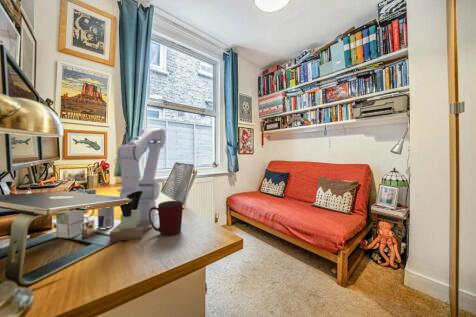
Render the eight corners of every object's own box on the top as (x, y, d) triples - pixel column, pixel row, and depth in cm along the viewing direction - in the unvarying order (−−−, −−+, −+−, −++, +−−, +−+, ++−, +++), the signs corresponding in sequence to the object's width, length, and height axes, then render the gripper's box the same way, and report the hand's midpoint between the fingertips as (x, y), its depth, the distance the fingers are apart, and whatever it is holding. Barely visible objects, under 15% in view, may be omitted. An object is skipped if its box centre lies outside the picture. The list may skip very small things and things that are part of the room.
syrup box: (85, 232, 71) (84, 194, 71) (68, 239, 66) (68, 198, 65) (72, 231, 72) (72, 194, 72) (55, 238, 67) (54, 197, 66)
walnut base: (121, 229, 74) (121, 222, 74) (148, 227, 77) (148, 220, 76) (109, 241, 65) (109, 232, 65) (141, 238, 67) (141, 230, 67)
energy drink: (100, 225, 78) (100, 197, 78) (115, 223, 80) (115, 196, 80) (96, 230, 73) (95, 200, 73) (112, 228, 75) (111, 198, 75)
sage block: (125, 223, 72) (125, 211, 72) (140, 222, 73) (139, 210, 73) (120, 229, 68) (120, 215, 67) (135, 227, 69) (135, 214, 68)
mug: (149, 241, 65) (149, 209, 65) (148, 231, 73) (148, 203, 72) (184, 234, 70) (184, 205, 70) (180, 226, 78) (180, 199, 78)
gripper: (125, 174, 76) (126, 208, 77) (109, 180, 62) (109, 220, 63) (144, 174, 78) (144, 207, 78) (132, 179, 64) (133, 219, 64)
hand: (130, 213), depth 70 cm, fingers open, 7 cm apart
